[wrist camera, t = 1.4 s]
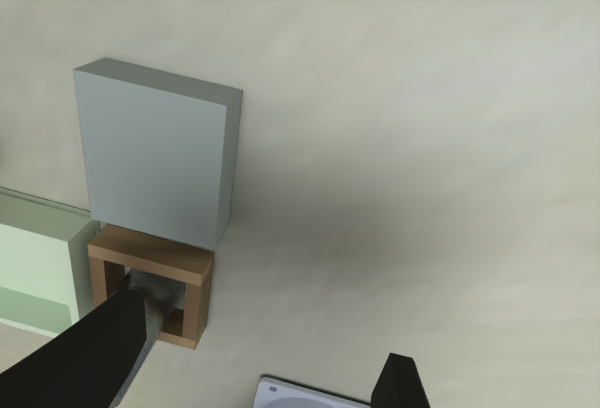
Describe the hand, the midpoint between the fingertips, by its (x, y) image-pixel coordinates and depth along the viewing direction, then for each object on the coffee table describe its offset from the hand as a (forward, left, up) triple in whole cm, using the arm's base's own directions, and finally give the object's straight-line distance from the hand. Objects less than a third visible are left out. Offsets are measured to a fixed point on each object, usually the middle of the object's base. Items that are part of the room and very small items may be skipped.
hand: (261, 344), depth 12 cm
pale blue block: (+6, -1, -9) cm, 11 cm away
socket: (+7, +8, -8) cm, 14 cm away
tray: (+14, +8, -8) cm, 19 cm away
